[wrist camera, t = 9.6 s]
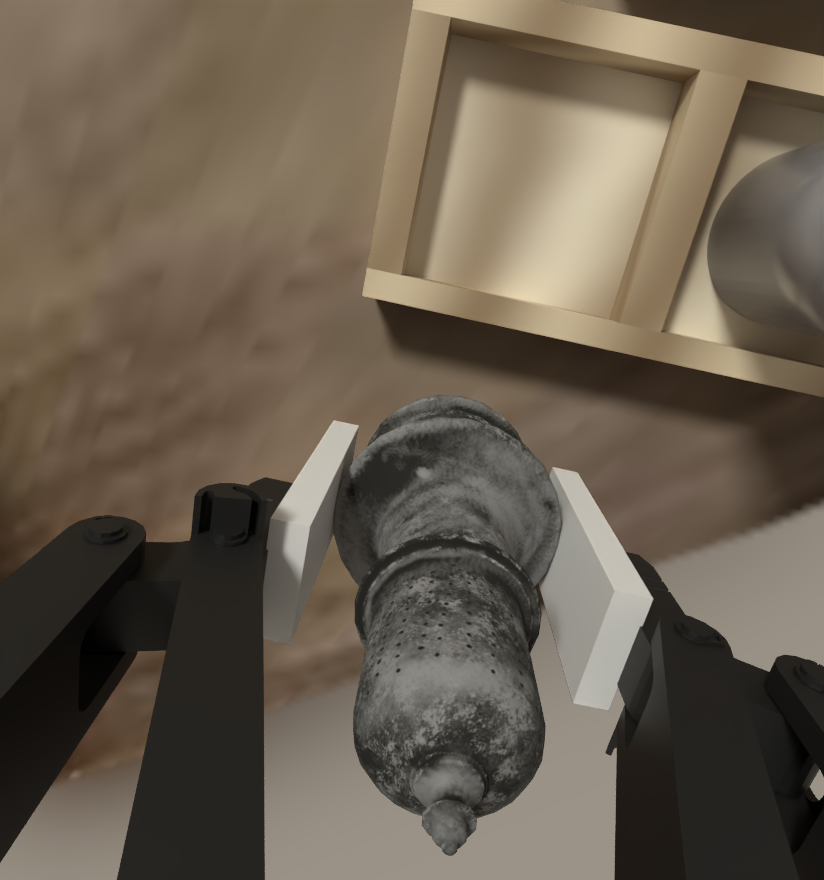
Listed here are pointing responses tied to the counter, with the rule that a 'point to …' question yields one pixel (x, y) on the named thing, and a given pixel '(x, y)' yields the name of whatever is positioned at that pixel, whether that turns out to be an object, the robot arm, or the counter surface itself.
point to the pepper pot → (774, 243)
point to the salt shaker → (448, 609)
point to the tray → (586, 178)
